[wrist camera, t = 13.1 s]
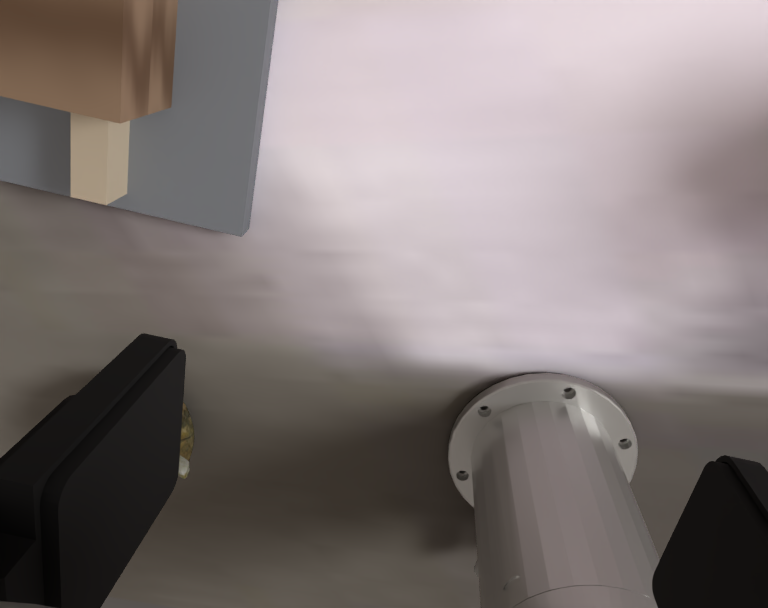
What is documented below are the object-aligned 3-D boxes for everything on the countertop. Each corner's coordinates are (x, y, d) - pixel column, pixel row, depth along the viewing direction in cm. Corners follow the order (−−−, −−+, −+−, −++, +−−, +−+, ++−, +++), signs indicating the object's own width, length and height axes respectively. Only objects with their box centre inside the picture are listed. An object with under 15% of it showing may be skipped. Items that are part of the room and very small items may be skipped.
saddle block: (171, 107, 34) (120, 123, 29) (57, 80, 34) (-16, 92, 29) (180, -35, 31) (124, -46, 26) (55, -64, 31) (-26, -81, 26)
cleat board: (248, 229, 38) (228, 250, 35) (-6, 169, 38) (-53, 185, 35) (298, -159, 30) (278, -183, 26) (-28, -238, 30) (-93, -273, 26)
